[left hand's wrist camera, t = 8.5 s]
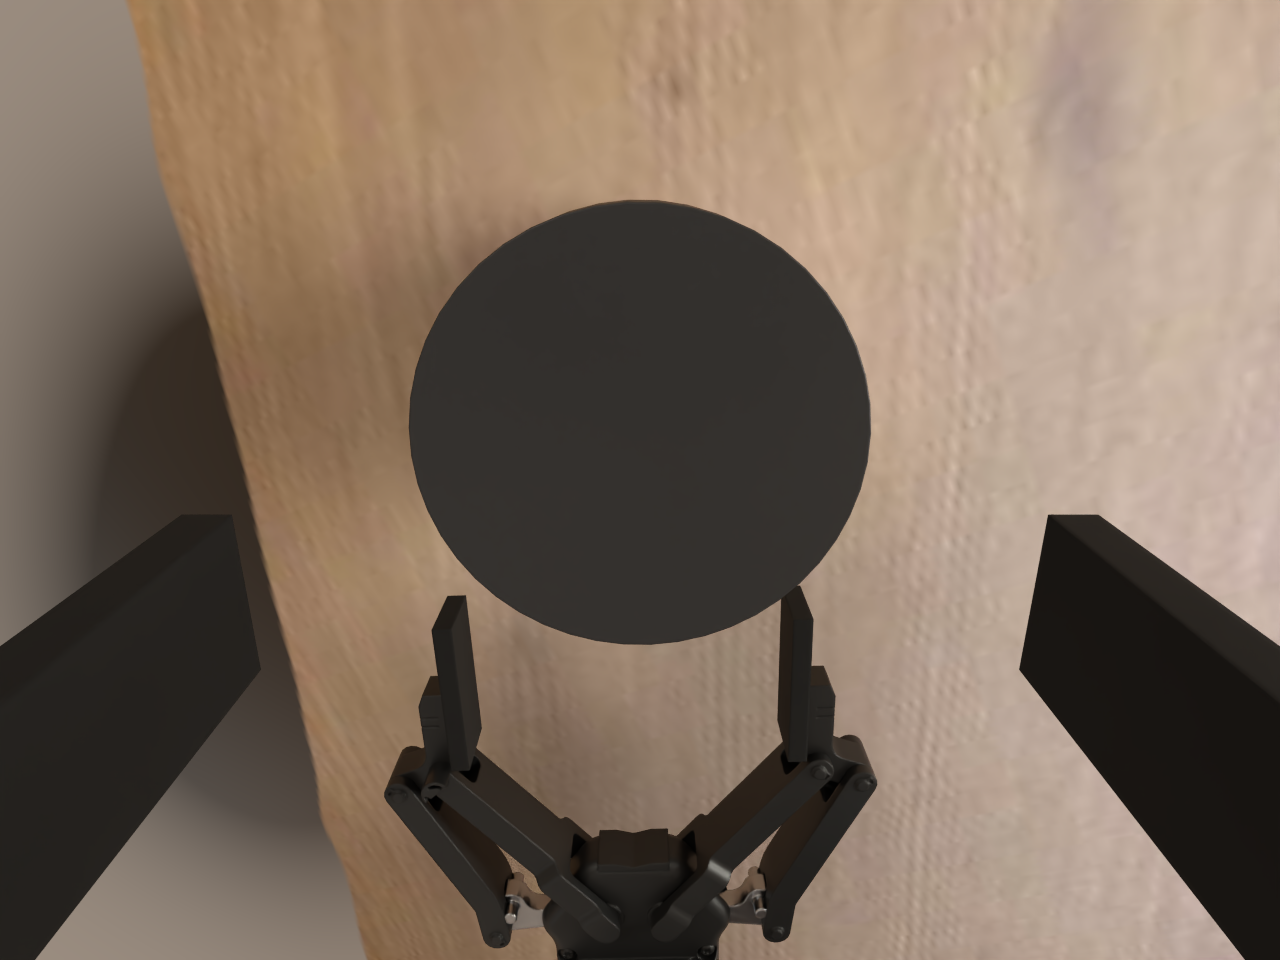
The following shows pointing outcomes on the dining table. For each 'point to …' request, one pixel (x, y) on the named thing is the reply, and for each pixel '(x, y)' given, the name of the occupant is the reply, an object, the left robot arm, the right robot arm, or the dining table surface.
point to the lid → (639, 422)
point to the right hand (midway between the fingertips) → (622, 605)
